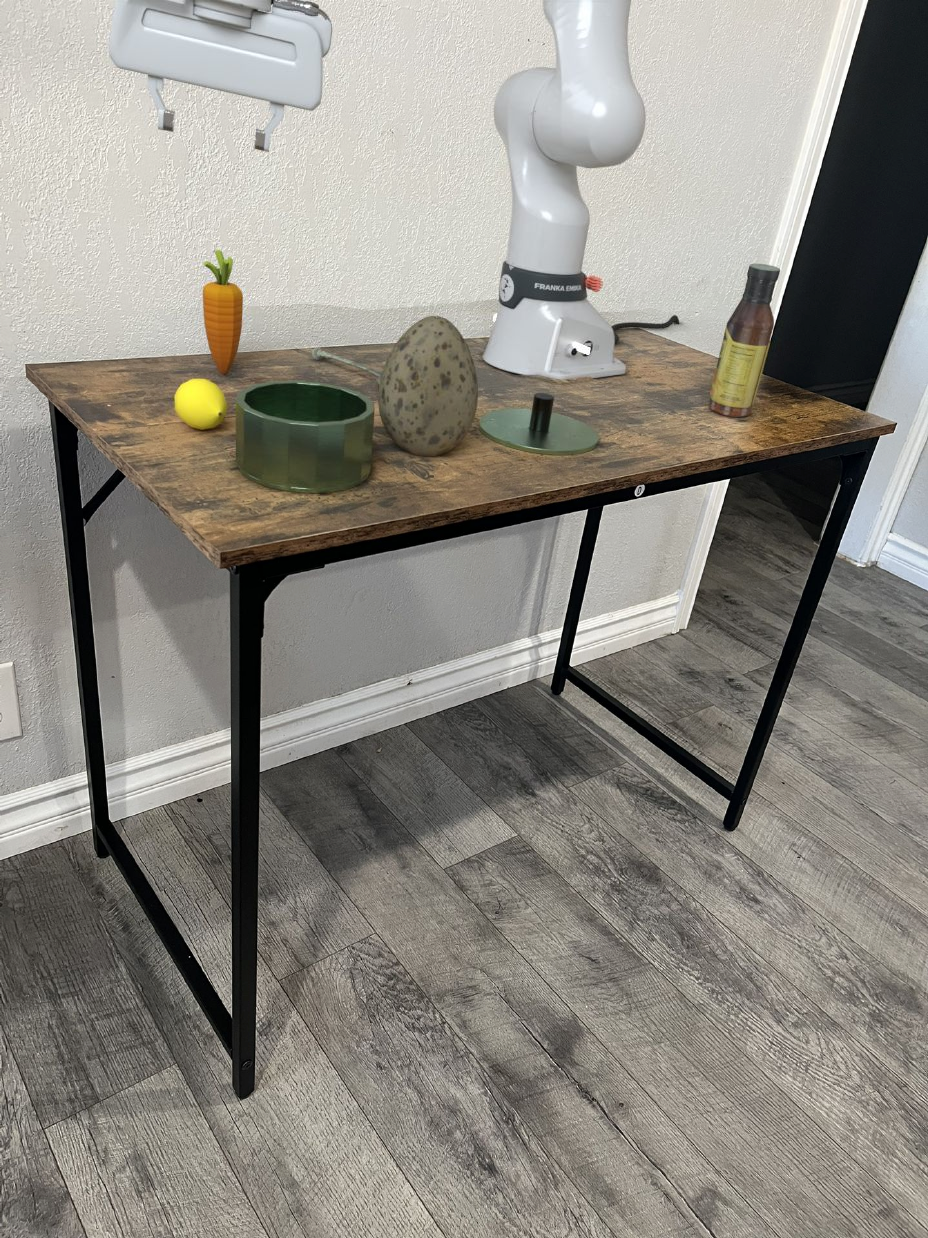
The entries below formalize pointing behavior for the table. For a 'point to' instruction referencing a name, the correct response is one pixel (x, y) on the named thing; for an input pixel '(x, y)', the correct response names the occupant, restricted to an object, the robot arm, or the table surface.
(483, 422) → the pot lid
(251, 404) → the pot
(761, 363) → the sauce bottle
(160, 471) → the table surface
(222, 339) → the carrot
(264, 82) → the robot arm
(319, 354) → the soupspoon
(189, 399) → the lemon
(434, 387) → the decorative egg
